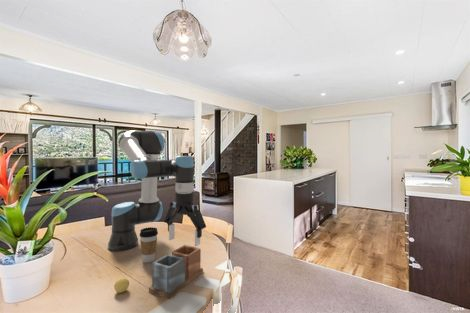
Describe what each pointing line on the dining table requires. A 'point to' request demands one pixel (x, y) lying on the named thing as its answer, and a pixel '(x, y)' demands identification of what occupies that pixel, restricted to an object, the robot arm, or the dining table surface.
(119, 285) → the ochre ball
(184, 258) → the desk organizer
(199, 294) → the dining table surface
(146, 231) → the coffee cup
